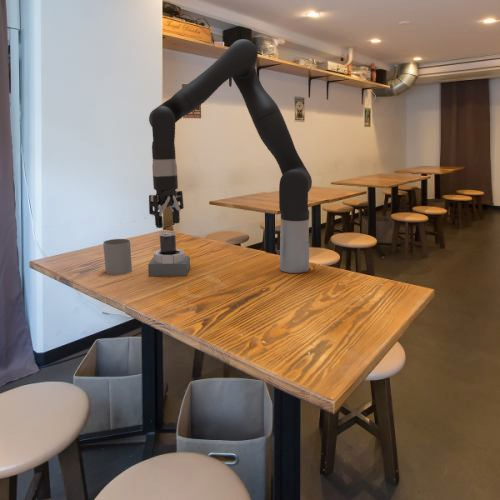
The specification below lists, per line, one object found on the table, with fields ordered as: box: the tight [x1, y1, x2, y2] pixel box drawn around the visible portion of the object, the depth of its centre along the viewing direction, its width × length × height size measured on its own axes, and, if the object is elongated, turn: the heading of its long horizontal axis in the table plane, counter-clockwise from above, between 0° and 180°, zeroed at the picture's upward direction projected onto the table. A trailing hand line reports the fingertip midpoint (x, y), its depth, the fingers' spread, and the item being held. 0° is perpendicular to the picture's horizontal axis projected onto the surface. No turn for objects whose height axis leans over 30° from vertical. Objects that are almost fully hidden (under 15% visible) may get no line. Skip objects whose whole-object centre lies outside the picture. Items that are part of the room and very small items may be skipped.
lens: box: [159, 230, 177, 255], centre depth 140 cm, size 5×5×9 cm
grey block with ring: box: [147, 248, 191, 277], centre depth 141 cm, size 12×10×6 cm
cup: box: [102, 238, 133, 276], centre depth 141 cm, size 8×8×10 cm
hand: (168, 225), depth 138 cm, fingers open, 8 cm apart
